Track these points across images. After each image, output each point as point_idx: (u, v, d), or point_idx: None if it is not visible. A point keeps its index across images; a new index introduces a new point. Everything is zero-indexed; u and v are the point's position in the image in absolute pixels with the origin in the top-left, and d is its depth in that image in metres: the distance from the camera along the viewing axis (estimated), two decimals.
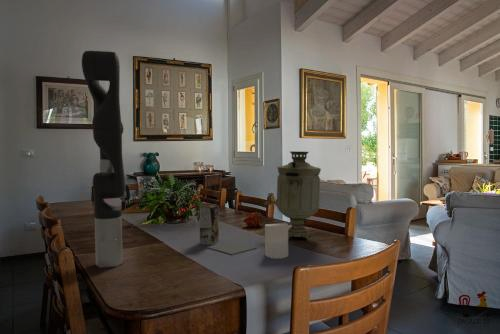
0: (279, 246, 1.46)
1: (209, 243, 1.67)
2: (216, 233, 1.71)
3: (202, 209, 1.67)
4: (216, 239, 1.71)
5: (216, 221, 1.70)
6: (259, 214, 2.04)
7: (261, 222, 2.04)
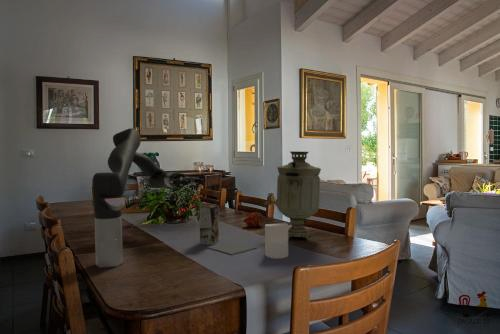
0: (279, 246, 1.46)
1: (209, 243, 1.67)
2: (216, 233, 1.71)
3: (202, 209, 1.67)
4: (216, 239, 1.71)
5: (216, 221, 1.70)
6: (259, 214, 2.04)
7: (261, 222, 2.04)
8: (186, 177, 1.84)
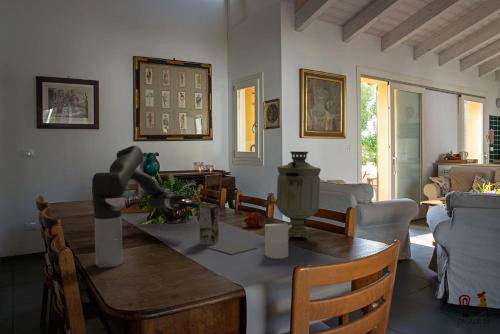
0: (279, 246, 1.46)
1: (209, 243, 1.67)
2: (216, 233, 1.71)
3: (202, 209, 1.67)
4: (216, 239, 1.71)
5: (216, 221, 1.70)
6: (259, 214, 2.04)
7: (261, 222, 2.04)
8: (185, 199, 1.85)
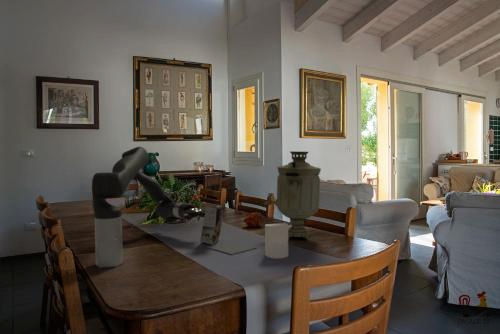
0: (279, 246, 1.46)
1: (209, 242, 1.67)
2: (218, 233, 1.71)
3: (209, 208, 1.66)
4: (217, 239, 1.71)
5: (219, 222, 1.70)
6: (259, 214, 2.04)
7: (261, 222, 2.04)
8: (194, 208, 1.80)
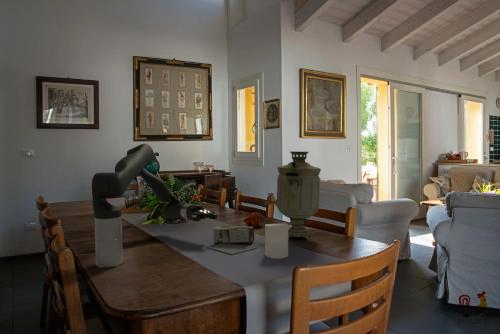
0: (279, 246, 1.46)
1: (214, 239, 1.68)
2: None
3: (247, 233, 1.64)
4: None
5: None
6: (259, 214, 2.04)
7: (261, 222, 2.04)
8: (203, 210, 1.75)
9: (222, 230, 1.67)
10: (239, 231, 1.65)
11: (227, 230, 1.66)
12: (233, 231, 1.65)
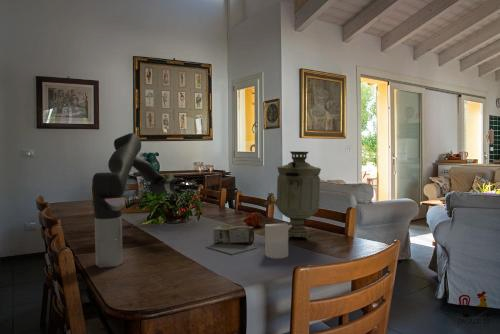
0: (279, 246, 1.46)
1: (214, 239, 1.68)
2: None
3: (247, 233, 1.64)
4: None
5: None
6: (259, 214, 2.04)
7: (261, 222, 2.04)
8: (185, 182, 1.84)
9: (222, 230, 1.67)
10: (239, 231, 1.65)
11: (227, 230, 1.66)
12: (233, 231, 1.65)
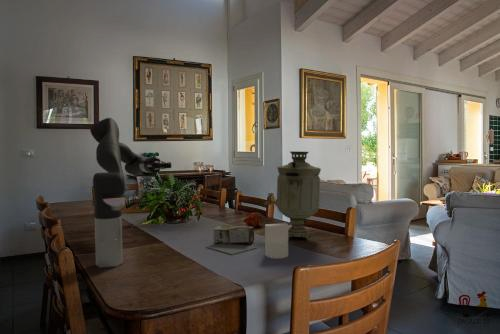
0: (279, 246, 1.46)
1: (214, 239, 1.68)
2: None
3: (247, 233, 1.64)
4: None
5: None
6: (259, 214, 2.04)
7: (261, 222, 2.04)
8: (159, 161, 1.82)
9: (222, 230, 1.67)
10: (239, 231, 1.65)
11: (227, 230, 1.66)
12: (233, 231, 1.65)
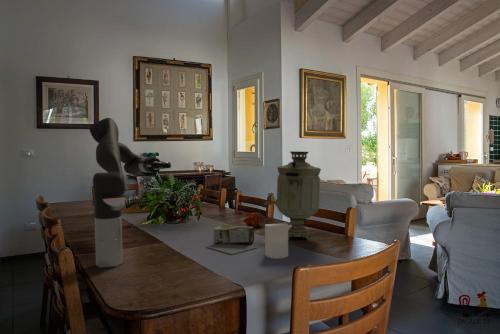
0: (279, 246, 1.46)
1: (214, 239, 1.68)
2: None
3: (247, 233, 1.64)
4: None
5: None
6: (259, 214, 2.04)
7: (261, 222, 2.04)
8: (159, 161, 1.82)
9: (222, 230, 1.67)
10: (239, 231, 1.65)
11: (227, 230, 1.66)
12: (233, 231, 1.65)
